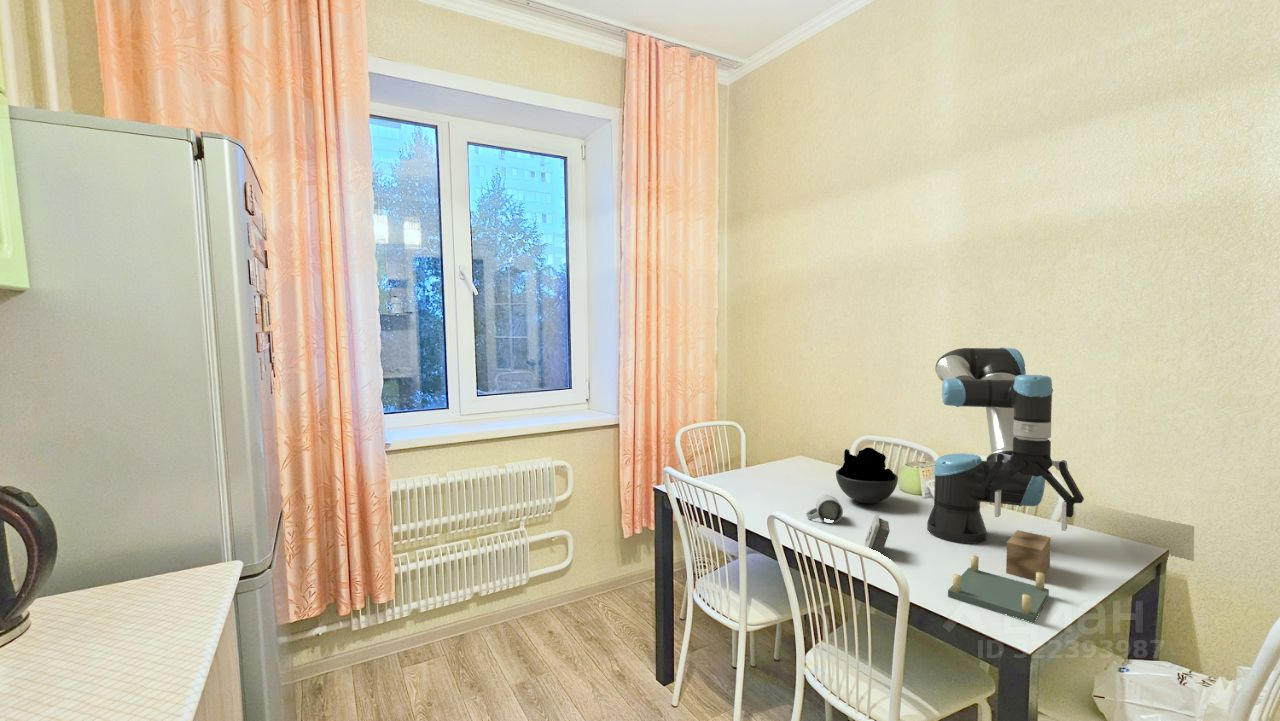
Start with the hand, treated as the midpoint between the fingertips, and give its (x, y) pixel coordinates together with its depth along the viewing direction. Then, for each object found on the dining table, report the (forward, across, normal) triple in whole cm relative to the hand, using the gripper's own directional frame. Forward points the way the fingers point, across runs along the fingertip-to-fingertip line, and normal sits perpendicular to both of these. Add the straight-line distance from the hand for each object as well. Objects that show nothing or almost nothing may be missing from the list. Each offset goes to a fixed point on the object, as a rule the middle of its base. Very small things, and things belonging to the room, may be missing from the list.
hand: (1029, 522), depth 133 cm
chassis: (+12, -2, -20) cm, 23 cm away
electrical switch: (+13, -32, -14) cm, 37 cm away
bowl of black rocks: (+12, -51, +24) cm, 58 cm away
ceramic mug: (+12, -54, -1) cm, 55 cm away
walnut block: (+12, 0, 0) cm, 13 cm away
